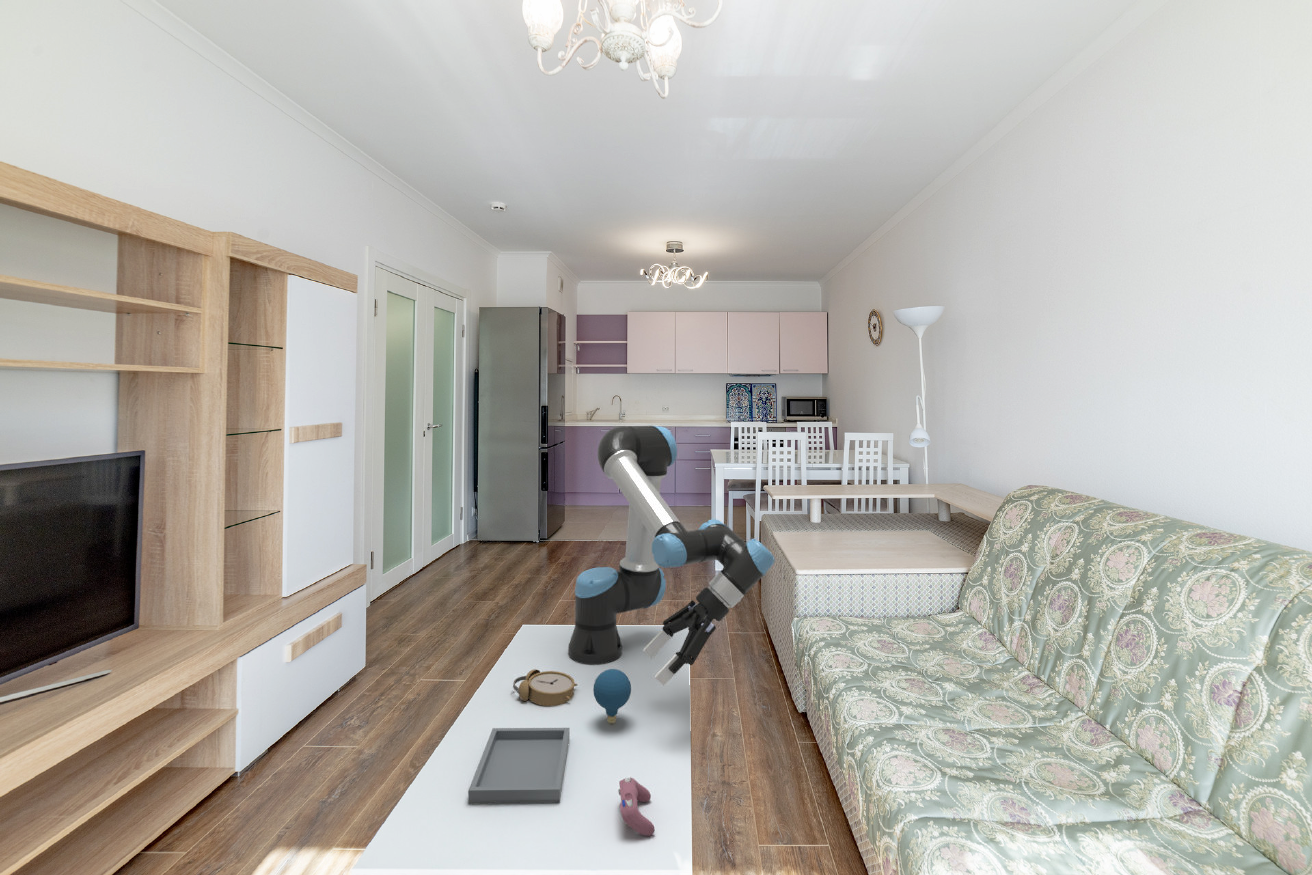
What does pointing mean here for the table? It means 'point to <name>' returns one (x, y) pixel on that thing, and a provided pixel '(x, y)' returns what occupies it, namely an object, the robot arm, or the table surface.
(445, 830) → the table surface
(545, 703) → the alarm clock
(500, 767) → the tray
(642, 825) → the video game controller
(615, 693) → the light bulb
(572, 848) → the table surface
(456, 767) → the table surface
